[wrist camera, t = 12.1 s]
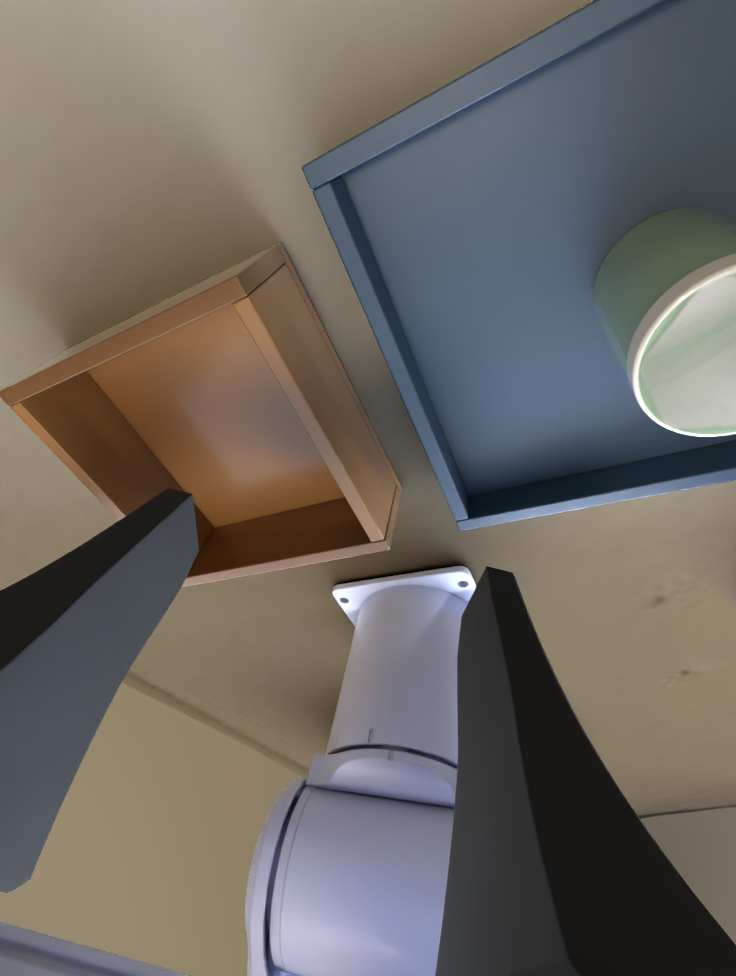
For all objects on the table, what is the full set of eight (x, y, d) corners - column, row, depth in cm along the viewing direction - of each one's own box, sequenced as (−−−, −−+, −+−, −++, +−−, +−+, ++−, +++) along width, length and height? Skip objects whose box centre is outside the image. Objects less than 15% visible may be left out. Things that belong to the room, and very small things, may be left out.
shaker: (744, 321, 15) (849, 411, 11) (600, 363, 16) (642, 455, 12) (746, 177, 13) (878, 218, 8) (580, 241, 14) (621, 302, 10)
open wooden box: (402, 488, 22) (390, 550, 19) (216, 531, 26) (182, 587, 23) (281, 241, 16) (236, 275, 13) (67, 349, 21) (-5, 393, 17)
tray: (982, 392, 15) (1037, 425, 14) (461, 501, 22) (459, 531, 20) (1219, -348, 8) (1397, -455, 6) (319, 159, 14) (300, 166, 13)
